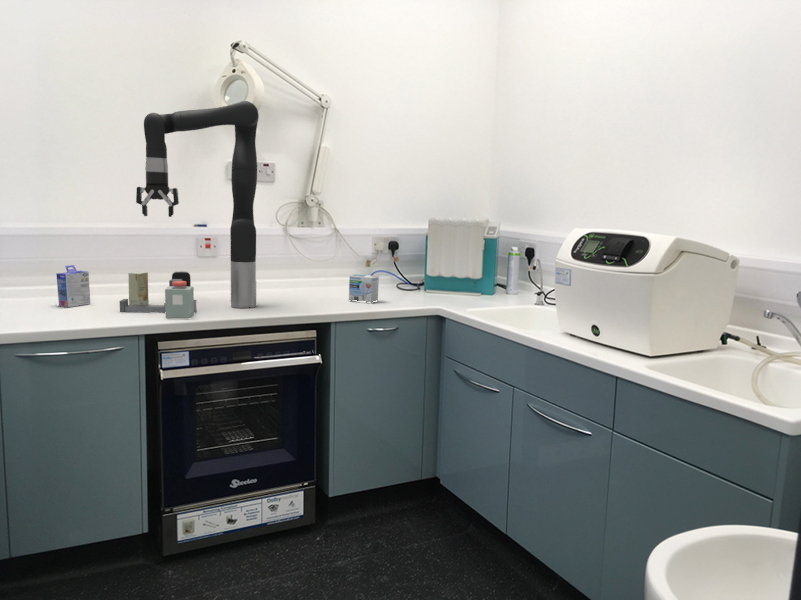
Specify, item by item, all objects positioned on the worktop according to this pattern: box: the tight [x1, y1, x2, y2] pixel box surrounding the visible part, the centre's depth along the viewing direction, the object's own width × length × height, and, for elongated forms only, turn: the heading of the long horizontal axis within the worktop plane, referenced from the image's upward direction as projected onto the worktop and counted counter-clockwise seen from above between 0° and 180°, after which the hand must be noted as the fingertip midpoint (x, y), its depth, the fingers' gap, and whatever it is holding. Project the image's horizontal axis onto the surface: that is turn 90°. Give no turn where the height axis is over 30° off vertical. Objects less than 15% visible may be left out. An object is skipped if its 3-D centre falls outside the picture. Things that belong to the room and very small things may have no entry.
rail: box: [119, 298, 197, 314], centre depth 229 cm, size 25×5×4 cm, turn 98°
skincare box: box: [127, 271, 149, 305], centre depth 240 cm, size 6×4×12 cm
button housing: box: [164, 286, 195, 319], centre depth 221 cm, size 8×7×10 cm
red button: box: [172, 281, 187, 289], centre depth 221 cm, size 5×5×10 cm
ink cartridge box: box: [55, 264, 91, 308], centre depth 235 cm, size 10×6×14 cm, turn 155°
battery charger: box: [171, 270, 192, 287], centre depth 253 cm, size 7×4×11 cm, turn 109°
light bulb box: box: [348, 274, 380, 302], centre depth 266 cm, size 11×7×11 cm, turn 68°
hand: (157, 216), depth 235 cm, fingers open, 8 cm apart
